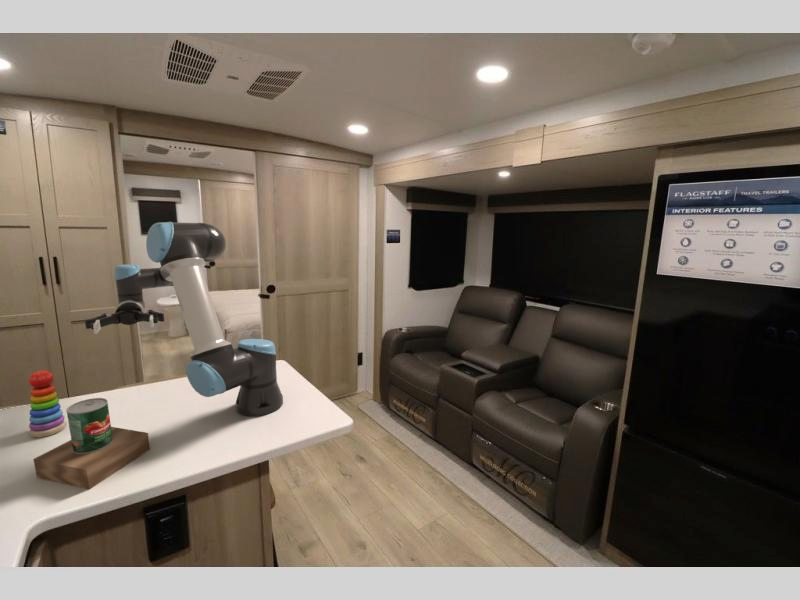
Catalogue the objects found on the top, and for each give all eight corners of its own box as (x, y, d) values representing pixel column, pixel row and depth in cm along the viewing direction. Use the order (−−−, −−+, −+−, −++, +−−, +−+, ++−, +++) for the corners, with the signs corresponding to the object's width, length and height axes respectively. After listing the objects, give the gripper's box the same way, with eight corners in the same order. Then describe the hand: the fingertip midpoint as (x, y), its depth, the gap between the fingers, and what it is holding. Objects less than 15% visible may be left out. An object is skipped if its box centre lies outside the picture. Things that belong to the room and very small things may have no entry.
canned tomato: (104, 451, 91) (98, 410, 88) (65, 456, 88) (58, 414, 86) (118, 434, 98) (113, 396, 96) (83, 438, 96) (76, 399, 94)
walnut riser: (150, 449, 100) (148, 432, 99) (89, 489, 85) (86, 470, 84) (103, 440, 104) (100, 424, 103) (36, 477, 88) (33, 459, 87)
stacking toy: (32, 442, 102) (20, 379, 99) (27, 432, 107) (15, 371, 103) (69, 430, 109) (59, 370, 105) (63, 421, 113) (53, 364, 110)
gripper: (172, 318, 135) (173, 333, 118) (84, 327, 122) (71, 344, 105) (170, 298, 134) (171, 310, 116) (81, 305, 121) (67, 319, 103)
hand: (124, 326), depth 110 cm, fingers open, 13 cm apart
